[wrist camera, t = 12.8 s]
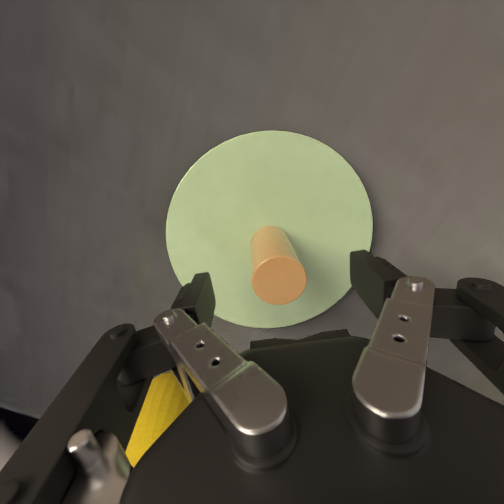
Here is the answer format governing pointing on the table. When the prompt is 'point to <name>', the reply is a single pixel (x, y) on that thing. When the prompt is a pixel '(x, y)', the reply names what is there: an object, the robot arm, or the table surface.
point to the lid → (269, 227)
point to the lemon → (156, 414)
